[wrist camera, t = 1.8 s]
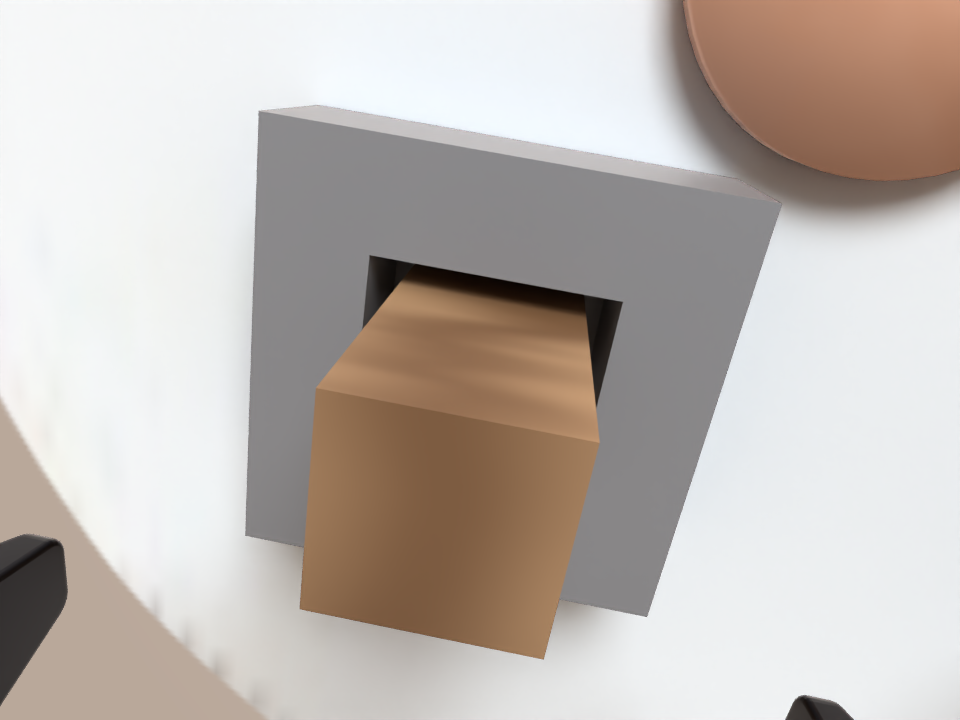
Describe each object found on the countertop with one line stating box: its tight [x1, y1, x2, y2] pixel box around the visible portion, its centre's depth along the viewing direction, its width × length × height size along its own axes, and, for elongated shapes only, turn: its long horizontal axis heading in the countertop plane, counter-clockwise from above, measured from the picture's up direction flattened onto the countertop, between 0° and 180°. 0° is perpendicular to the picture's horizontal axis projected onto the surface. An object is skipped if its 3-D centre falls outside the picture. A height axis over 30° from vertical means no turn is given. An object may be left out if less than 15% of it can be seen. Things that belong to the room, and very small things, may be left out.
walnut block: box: [300, 264, 600, 659], centre depth 14 cm, size 4×4×8 cm
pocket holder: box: [245, 105, 782, 617], centre depth 17 cm, size 10×10×4 cm
